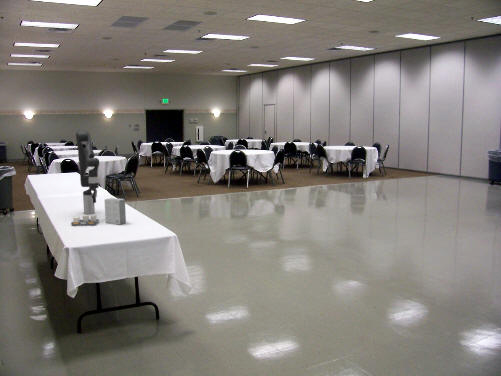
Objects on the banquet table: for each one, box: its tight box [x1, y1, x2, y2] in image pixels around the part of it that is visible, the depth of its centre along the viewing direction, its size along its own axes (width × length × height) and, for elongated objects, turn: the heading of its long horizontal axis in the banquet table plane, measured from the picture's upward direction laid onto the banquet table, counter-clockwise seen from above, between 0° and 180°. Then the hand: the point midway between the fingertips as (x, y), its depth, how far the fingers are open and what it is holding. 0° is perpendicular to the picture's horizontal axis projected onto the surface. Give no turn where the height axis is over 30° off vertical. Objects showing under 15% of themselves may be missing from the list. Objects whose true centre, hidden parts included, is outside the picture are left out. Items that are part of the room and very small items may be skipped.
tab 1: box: [72, 216, 81, 222], centre depth 393 cm, size 4×4×5 cm
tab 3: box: [89, 214, 98, 222], centre depth 401 cm, size 4×4×5 cm
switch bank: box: [70, 218, 100, 227], centre depth 398 cm, size 12×19×3 cm, turn 96°
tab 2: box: [82, 214, 90, 222], centre depth 400 cm, size 4×4×5 cm
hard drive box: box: [104, 197, 127, 225], centre depth 401 cm, size 16×8×20 cm, turn 65°
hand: (94, 202), depth 406 cm, fingers closed
